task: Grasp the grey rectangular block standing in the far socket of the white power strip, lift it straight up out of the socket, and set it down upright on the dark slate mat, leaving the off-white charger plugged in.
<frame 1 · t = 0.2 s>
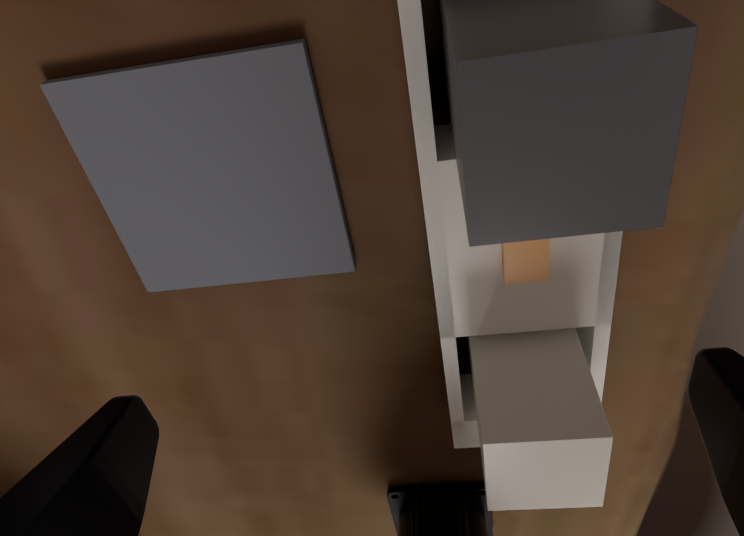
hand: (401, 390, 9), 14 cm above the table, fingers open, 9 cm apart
slate mat: (216, 181, 23), on the table
grey rectangular block: (508, 36, 19), resting in power strip
power strip: (511, 210, 23), on the table
white charger: (513, 330, 28), resting in power strip
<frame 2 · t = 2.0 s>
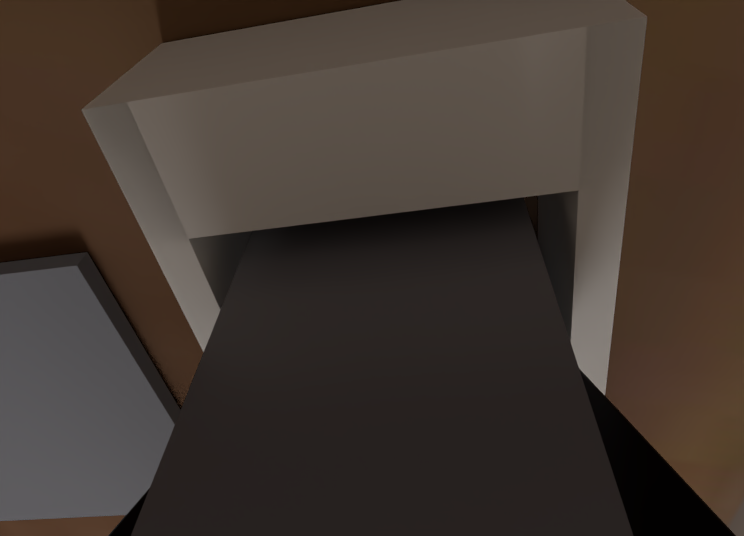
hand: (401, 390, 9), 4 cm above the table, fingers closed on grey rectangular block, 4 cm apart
slate mat: (12, 410, 16), on the table
grey rectangular block: (402, 251, 12), resting in power strip, touching gripper
power strip: (436, 446, 16), on the table
when the fingers open (6 cm above the table, at t = 6.2 s): grey rectangular block drops 2 cm, resting on slate mat.
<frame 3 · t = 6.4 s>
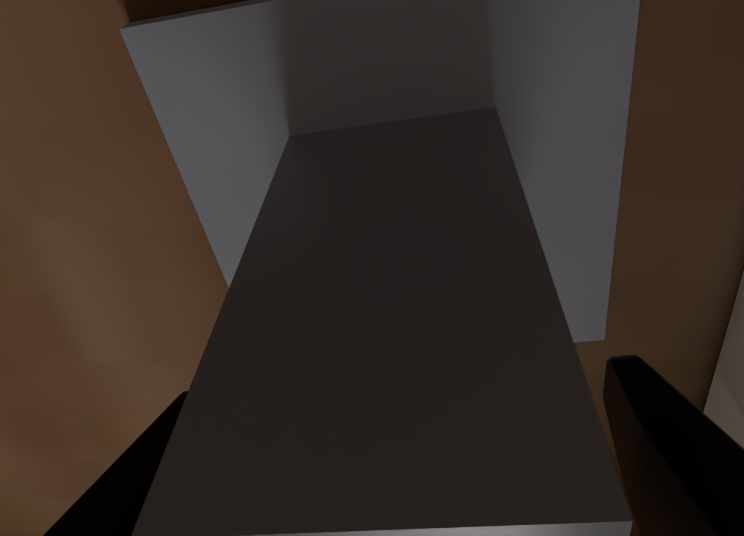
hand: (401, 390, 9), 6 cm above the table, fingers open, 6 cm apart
slate mat: (402, 199, 14), on the table
grey rectangular block: (403, 210, 13), resting on slate mat
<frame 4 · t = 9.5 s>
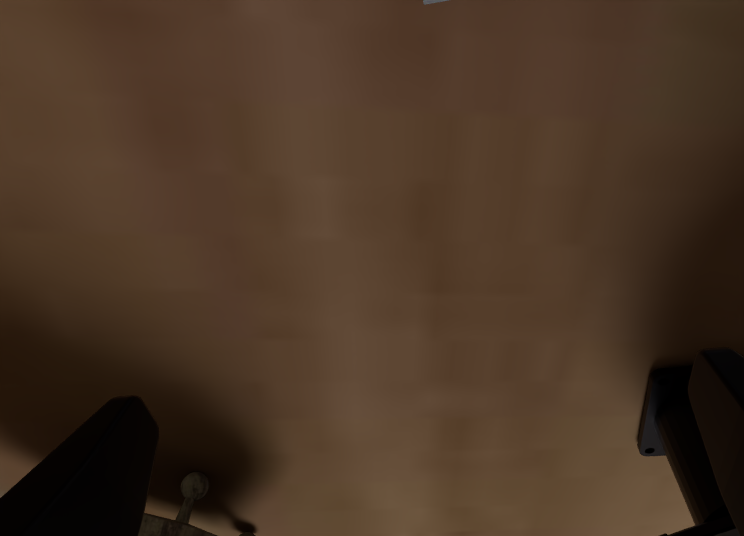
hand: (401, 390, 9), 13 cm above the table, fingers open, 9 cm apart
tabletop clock: (190, 485, 36), on the table
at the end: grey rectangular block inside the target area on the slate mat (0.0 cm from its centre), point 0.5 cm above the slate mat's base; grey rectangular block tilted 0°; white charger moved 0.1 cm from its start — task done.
